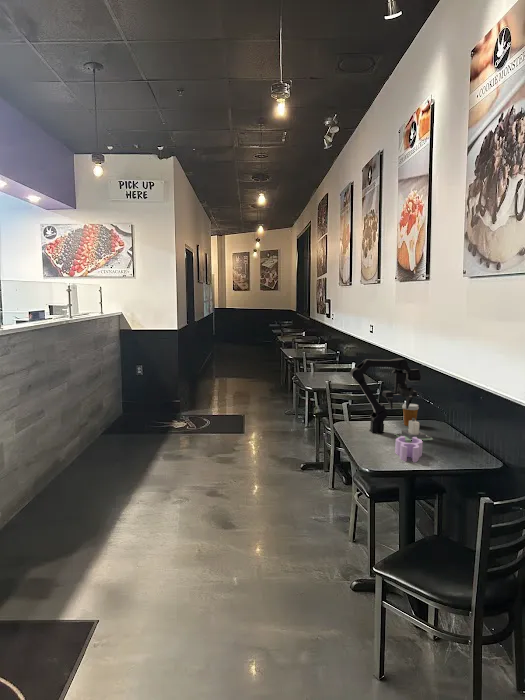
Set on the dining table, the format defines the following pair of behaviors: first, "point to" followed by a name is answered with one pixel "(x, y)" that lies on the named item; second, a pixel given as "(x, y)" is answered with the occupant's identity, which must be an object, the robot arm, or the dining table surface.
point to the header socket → (409, 435)
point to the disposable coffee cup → (410, 413)
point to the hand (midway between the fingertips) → (399, 409)
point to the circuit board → (411, 439)
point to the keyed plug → (413, 427)
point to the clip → (409, 448)
